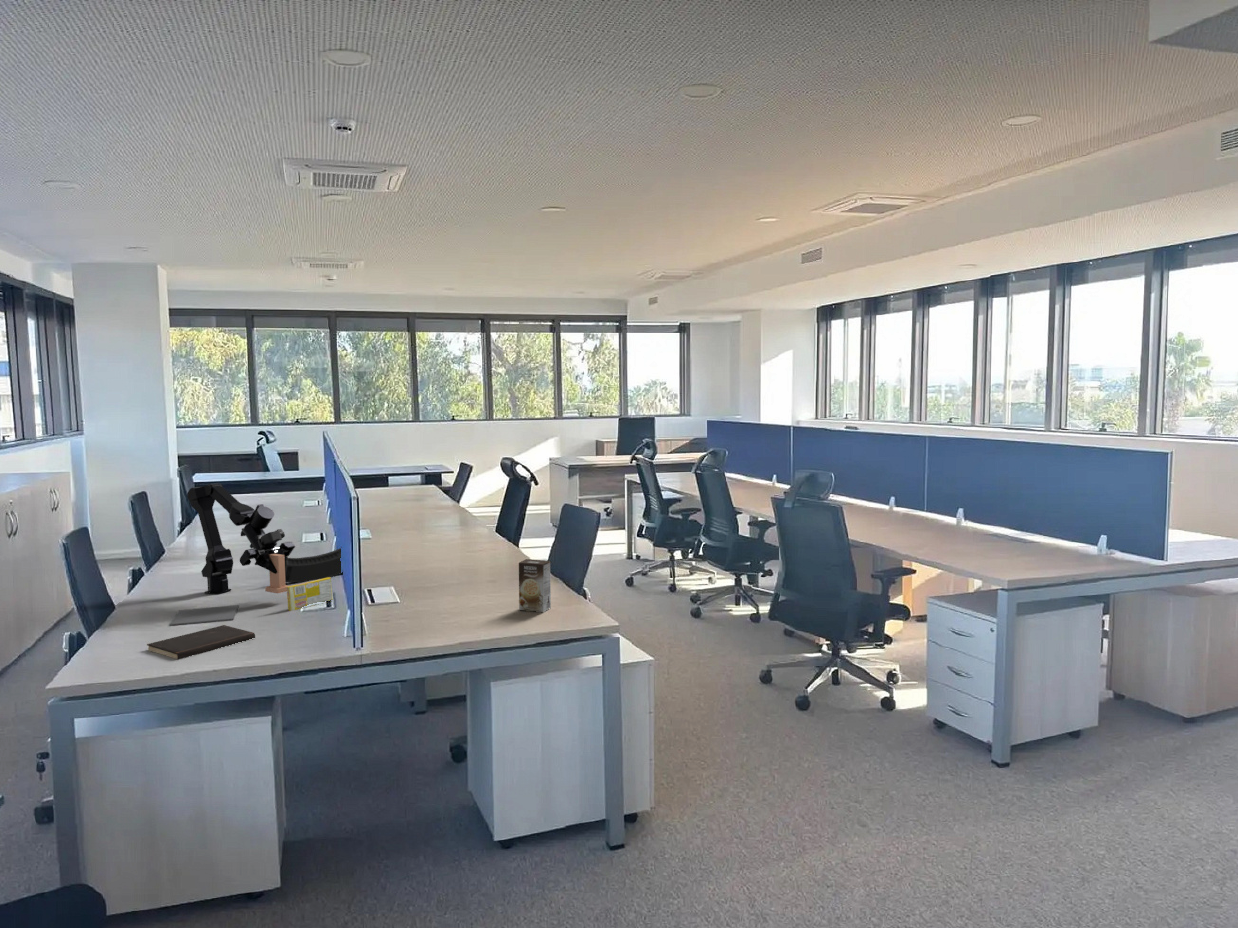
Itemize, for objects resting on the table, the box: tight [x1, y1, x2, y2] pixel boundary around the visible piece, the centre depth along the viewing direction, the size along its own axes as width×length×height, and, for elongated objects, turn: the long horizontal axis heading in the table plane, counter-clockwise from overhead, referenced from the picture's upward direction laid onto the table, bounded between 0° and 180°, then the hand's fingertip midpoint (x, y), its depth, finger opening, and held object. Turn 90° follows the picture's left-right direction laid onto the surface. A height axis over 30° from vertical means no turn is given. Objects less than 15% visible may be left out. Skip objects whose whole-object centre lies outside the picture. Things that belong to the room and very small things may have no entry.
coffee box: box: [518, 558, 552, 613], centre depth 275 cm, size 9×6×16 cm
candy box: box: [286, 577, 334, 612], centre depth 284 cm, size 16×2×8 cm, turn 144°
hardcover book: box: [146, 624, 256, 661], centre depth 241 cm, size 16×23×2 cm
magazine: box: [284, 547, 342, 583], centre depth 325 cm, size 17×3×30 cm
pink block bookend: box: [264, 554, 289, 594], centre depth 288 cm, size 6×5×12 cm
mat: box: [169, 604, 239, 627], centre depth 273 cm, size 18×18×1 cm
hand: (279, 572), depth 287 cm, fingers closed on pink block bookend, 2 cm apart
